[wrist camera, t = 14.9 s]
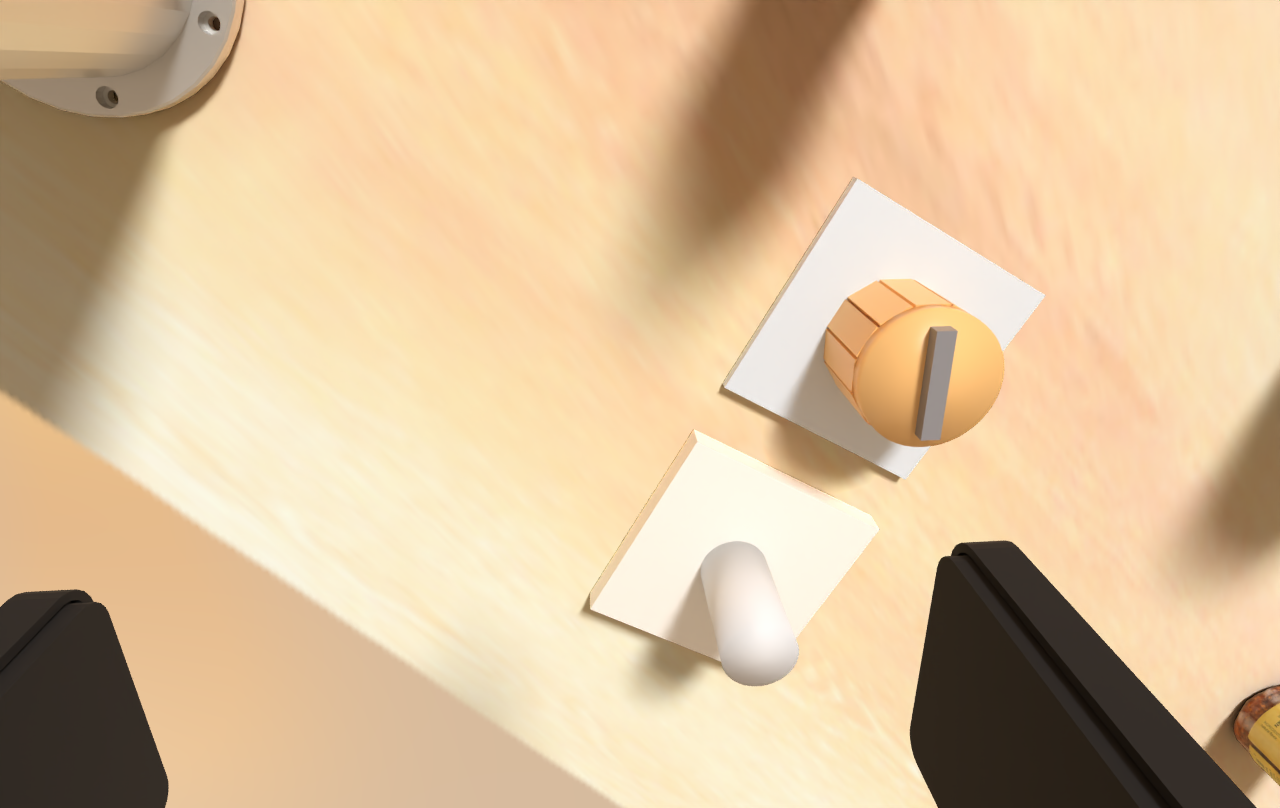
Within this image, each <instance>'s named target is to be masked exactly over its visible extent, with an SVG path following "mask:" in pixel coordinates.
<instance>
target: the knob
mask: <svg viewBox="0 0 1280 808" xmlns="http://www.w3.org/2000/svg"><path fill="white" fill-rule="evenodd" d="M848 299H849V301H850V302H849V301H847V300H846V299H845V300H844V302H843V303H842V305H841V306H840V308H839V309H838V311H837V312H836V314H835V315H834V317H833V318H832V320H831V321H830V323H829V324H828V326H827V327H828V328H829V329H826V335H825V346H824V357H823V359H824V360H825V361H824V363H825V365H826V367H827V368H828V370H829V372H830V374H831V376H832V378H833V380H834V382H835V384H836V386H837V387H838V388H839V389H840V391H841V392H842V393H843V394H844V396H845V397H846V398H847V399H848V400H849V402H850V403H851V404H852V405H853V407H854V408H855V409H856V410H857V412H858V413H859V414H860V415H861V417H862V418H863V419H864V420H865V421H866V422H867V423H868V424H869V425H871V426H872V427H873V428H874V429H875V430H876V431H877V432H878V433H879V434H880V435H882V436H883V437H885V438H886V439H888V440H890V441H892V442H894V443H897V444H900V445H904V446H910V447H928V446H934V445H939V444H942V443H945V442H948V441H951V440H953V439H955V438H957V437H959V436H961V435H962V434H964V433H966V432H967V431H969V430H970V429H971V428H973V427H974V426H975V425H976V424H977V423H978V422H979V421H980V420H981V419H982V418H983V417H984V416H985V415H986V414H987V413H988V411H989V410H990V408H991V407H992V405H993V404H994V402H995V400H996V398H997V396H998V394H999V391H1000V389H1001V385H1002V382H1003V376H1004V357H1003V352H1002V349H1001V346H1000V343H999V341H998V339H997V338H996V336H995V335H994V333H993V332H992V331H991V330H990V329H989V328H988V327H987V326H986V325H985V324H984V323H983V322H981V320H979V319H977V318H976V317H974V316H973V315H971V314H969V313H968V312H966V311H965V310H963V309H962V308H960V307H958V306H957V305H955V304H954V303H952V302H950V301H949V300H947V299H946V298H944V297H942V296H941V295H939V294H938V293H936V292H934V291H933V290H931V289H929V288H928V287H926V286H924V285H923V284H921V283H919V282H918V281H916V280H912V279H882V280H880V281H879V282H878V281H877V280H876V281H875V282H873V283H871V284H869V285H868V286H866V287H864V288H862V289H861V290H859V291H857V292H855V293H854V294H852V295H850V296H848Z"/></svg>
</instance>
